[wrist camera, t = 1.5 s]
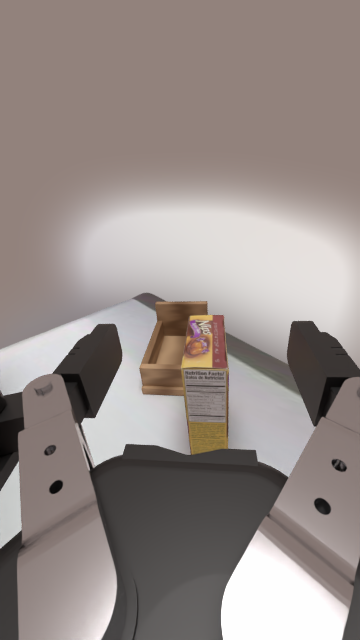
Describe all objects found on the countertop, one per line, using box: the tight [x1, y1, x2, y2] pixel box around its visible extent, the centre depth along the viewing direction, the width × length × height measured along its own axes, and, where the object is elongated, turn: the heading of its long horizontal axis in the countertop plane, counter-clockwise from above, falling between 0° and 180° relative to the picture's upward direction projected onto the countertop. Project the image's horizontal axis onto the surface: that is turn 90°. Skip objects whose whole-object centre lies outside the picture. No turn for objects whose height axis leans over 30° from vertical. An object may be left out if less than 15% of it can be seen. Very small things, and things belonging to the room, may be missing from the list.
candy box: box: [181, 315, 229, 455], centre depth 28 cm, size 9×4×15 cm, turn 173°
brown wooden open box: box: [139, 301, 208, 396], centre depth 43 cm, size 10×16×8 cm, turn 173°
